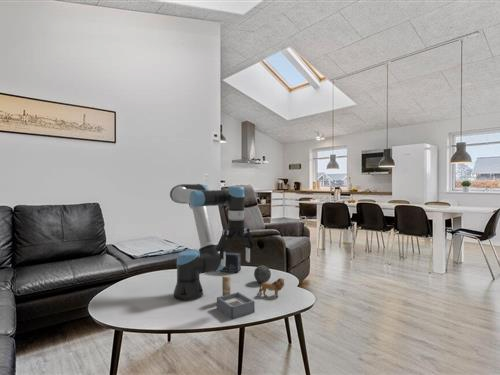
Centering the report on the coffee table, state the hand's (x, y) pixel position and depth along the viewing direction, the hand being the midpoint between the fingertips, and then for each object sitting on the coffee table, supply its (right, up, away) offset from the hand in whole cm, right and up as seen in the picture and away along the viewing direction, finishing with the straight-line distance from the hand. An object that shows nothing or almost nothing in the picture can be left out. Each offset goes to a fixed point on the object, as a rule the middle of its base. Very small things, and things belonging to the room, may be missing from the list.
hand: (235, 263), depth 140 cm
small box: (-7, -21, +60) cm, 64 cm away
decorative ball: (+14, -21, +36) cm, 44 cm away
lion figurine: (+18, -21, +15) cm, 31 cm away
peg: (-5, -21, +8) cm, 23 cm away
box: (0, -21, -3) cm, 21 cm away
